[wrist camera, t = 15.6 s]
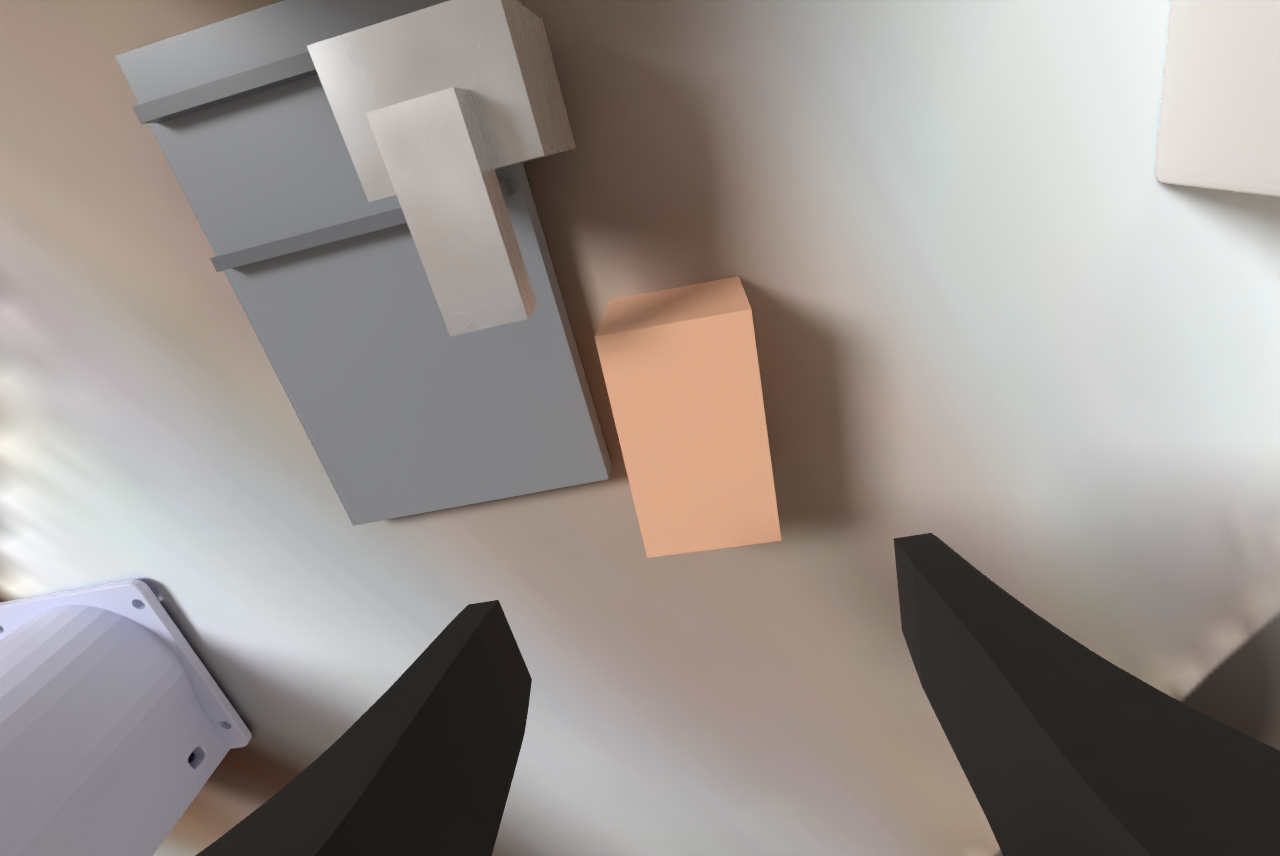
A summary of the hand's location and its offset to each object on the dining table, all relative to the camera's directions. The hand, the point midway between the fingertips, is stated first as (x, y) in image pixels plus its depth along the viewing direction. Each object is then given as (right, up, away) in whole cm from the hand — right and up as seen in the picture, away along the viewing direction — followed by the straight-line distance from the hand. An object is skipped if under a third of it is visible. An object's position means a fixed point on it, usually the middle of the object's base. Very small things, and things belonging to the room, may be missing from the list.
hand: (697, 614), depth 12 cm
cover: (+1, +5, +10) cm, 11 cm away
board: (-8, +8, +8) cm, 14 cm away
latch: (-5, +10, +6) cm, 13 cm away
